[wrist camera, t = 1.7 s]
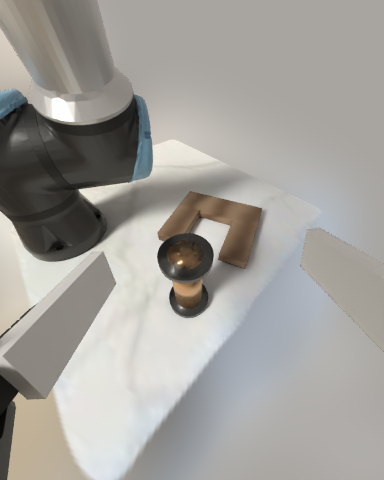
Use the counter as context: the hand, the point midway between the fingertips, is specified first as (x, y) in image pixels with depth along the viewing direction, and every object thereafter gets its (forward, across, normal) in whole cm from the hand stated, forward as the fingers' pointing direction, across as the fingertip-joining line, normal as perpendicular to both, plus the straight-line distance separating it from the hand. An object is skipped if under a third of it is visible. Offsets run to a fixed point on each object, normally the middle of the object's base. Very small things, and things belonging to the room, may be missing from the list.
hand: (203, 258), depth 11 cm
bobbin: (+11, -3, -14) cm, 18 cm away
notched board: (+26, +2, -8) cm, 27 cm away
